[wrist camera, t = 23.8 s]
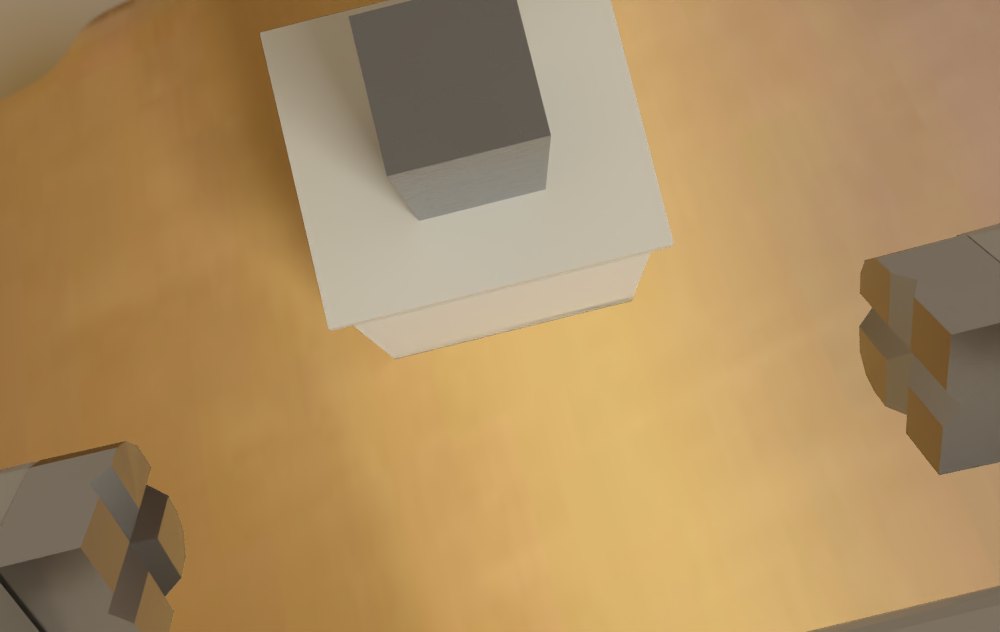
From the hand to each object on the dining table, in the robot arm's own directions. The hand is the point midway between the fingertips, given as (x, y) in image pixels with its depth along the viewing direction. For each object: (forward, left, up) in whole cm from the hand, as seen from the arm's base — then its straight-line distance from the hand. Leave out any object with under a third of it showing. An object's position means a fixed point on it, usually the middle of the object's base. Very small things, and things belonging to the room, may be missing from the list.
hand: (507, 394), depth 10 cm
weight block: (0, -12, -23) cm, 26 cm away
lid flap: (0, -13, -23) cm, 27 cm away
